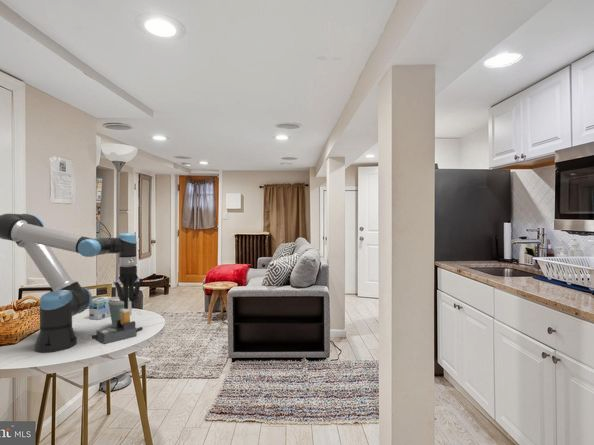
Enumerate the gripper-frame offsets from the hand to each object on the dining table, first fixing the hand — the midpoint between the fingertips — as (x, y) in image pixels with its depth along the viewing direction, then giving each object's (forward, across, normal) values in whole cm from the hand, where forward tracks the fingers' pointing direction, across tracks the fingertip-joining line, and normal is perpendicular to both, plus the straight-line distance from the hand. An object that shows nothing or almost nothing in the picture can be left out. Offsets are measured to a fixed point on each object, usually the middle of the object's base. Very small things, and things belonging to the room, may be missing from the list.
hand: (128, 314), depth 171 cm
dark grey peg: (+10, +5, +3) cm, 11 cm away
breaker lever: (+5, -2, 0) cm, 5 cm away
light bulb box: (+10, +3, +45) cm, 46 cm away
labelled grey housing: (+10, -6, 0) cm, 11 cm away
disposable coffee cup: (+10, +2, +17) cm, 20 cm away
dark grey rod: (+10, -4, +7) cm, 13 cm away
